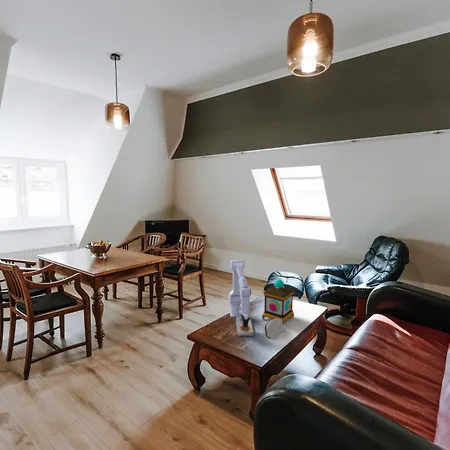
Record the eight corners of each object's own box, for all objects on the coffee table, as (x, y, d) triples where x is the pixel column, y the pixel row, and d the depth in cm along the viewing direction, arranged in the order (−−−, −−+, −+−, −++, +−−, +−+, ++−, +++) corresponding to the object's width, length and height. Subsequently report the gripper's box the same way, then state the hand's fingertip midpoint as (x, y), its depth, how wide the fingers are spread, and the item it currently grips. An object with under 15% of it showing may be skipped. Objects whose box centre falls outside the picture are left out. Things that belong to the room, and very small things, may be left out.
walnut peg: (242, 330, 201) (242, 319, 199) (247, 330, 201) (247, 319, 199) (242, 333, 197) (242, 321, 196) (248, 333, 197) (248, 321, 196)
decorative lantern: (284, 327, 204) (285, 286, 200) (259, 319, 216) (260, 280, 212) (296, 317, 220) (298, 278, 216) (272, 310, 232) (273, 273, 227)
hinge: (270, 339, 189) (266, 323, 190) (265, 339, 193) (261, 323, 194) (286, 330, 200) (283, 315, 201) (281, 330, 204) (278, 315, 205)
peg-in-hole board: (236, 320, 216) (236, 316, 215) (249, 319, 216) (249, 316, 215) (238, 335, 194) (238, 332, 193) (253, 335, 194) (253, 331, 194)
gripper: (238, 300, 203) (238, 319, 205) (239, 309, 189) (239, 329, 191) (248, 300, 203) (248, 319, 205) (251, 309, 189) (250, 329, 191)
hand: (245, 324), depth 198 cm, fingers open, 7 cm apart
